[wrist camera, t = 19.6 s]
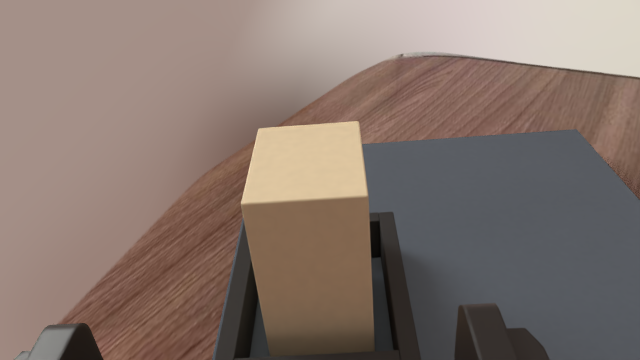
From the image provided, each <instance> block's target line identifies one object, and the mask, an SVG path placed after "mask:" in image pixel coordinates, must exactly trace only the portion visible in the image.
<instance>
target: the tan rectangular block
mask: <svg viewBox="0 0 640 360" xmlns="http://www.w3.org/2000/svg"><path fill="white" fill-rule="evenodd" d="M241 208H242V213H243V218H244V223H245V229H246V234H247V239H248V244H249V249H250V254H251V260H252V265H253V270H254V275H255V280H256V286H257V291H258V296H259V301H260V306H261V311H262V317H263V322H264V327H265V332H266V337H267V342H268V348H269V353H270V357H275V356H294V355H314V354H333V353H352V352H372V351H375V341H374V317H373V292H372V268H371V244H370V220H369V196H368V188H367V180H366V172H365V164H364V156H363V148H362V140H361V132H360V124H359V122H358V121H356V122H342V123H328V124H314V125H299V126H285V127H271V128H260V129H258V133H257V137H256V142H255V146H254V150H253V154H252V159H251V163H250V167H249V172H248V176H247V180H246V185H245V189H244V193H243V197H242V202H241Z"/></svg>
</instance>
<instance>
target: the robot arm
mask: <svg viewBox="0 0 640 360" xmlns="http://www.w3.org/2000/svg"><path fill="white" fill-rule="evenodd" d="M454 358H455V360H550V359H549V357H548V355H547V353H546V350H545V348H544V347H543V345H542V344H541V343H540V342H539V341H538V340H537V339H536V338H535V337H534V336H533V335H532V334H531V333H530V332H529V331H528V330H527V329H526V328H506V325H505V322H504V320H503V317H502V315H501V312H500V310H499V307H498V306H497V304H496V303H486V304H466V305H459V308H458V316H457V328H456V340H455V353H454ZM14 360H103V358H102V356H101V353H100V351H99V349H98V346H97V344H96V342H95V339H94V337H93V335H92V332H91V330H90V328H89V326H88V325H87V324H85V323H79V324H60V325H49V326H47V327H46V328H45V329H44V330H43V331H42V333H41V334H40V336H39V338H38V340H37V342H36V343H35V345H34V347H33V348H32V350H31V351H23V352H21V353H20V354H19V355H18V356H17V357H16V358H15V359H14Z"/></svg>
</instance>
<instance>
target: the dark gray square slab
mask: <svg viewBox="0 0 640 360" xmlns="http://www.w3.org/2000/svg"><path fill="white" fill-rule="evenodd" d="M362 148H363V156H364V164H365V172H366V180H367V188H368V196H369V220H370V244H371V268H372V292H373V317H374V341H375V351H372V352H352V353H333V354H314V355H294V356H275V357H270V353H269V348H268V342H267V337H266V332H265V327H264V322H263V317H262V311H261V306H260V301H259V296H258V291H257V286H256V280H255V275H254V270H253V265H252V260H251V254H250V249H249V244H248V239H247V234H246V229H245V223H244V218H243V219H242V224H241V228H240V233H239V238H238V242H237V247H236V251H235V256H234V261H233V265H232V270H231V275H230V279H229V284H228V288H227V293H226V298H225V302H224V307H223V312H222V316H221V321H220V325H219V330H218V335H217V339H216V344H215V349H214V353H213V358H212V360H455V358H454V353H455V340H456V328H457V316H458V308H459V305H466V304H486V303H496V304H497V306H498V307H499V310H500V312H501V315H502V317H503V320H504V322H505V325H506V328H526V329H527V330H528V331H529V332H530V333H531V334H532V335H533V336H534V337H535V338H536V339H537V340H538V341H539V342H540V343H541V344H542V345H543V347H544V348H545V350H546V353H547V355H548V357H549V359H550V360H640V200H639V199H638V198H637V197H636V196H635V194H634V193H633V192H632V191H631V190H630V189H629V188H628V187H627V185H626V184H625V183H624V182H623V181H622V180H621V179H620V178H619V176H618V175H617V174H616V173H615V172H614V171H613V170H612V169H611V167H610V166H609V165H608V164H607V163H606V162H605V161H604V160H603V158H602V157H601V156H600V155H599V154H598V153H597V152H596V151H595V150H594V148H593V147H592V146H591V145H590V144H589V143H588V142H587V141H586V139H585V138H584V137H583V136H582V135H581V134H580V133H579V132H578V130H576V129H574V130H560V131H545V132H531V133H517V134H502V135H488V136H474V137H459V138H445V139H431V140H416V141H402V142H388V143H373V144H362Z"/></svg>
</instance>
